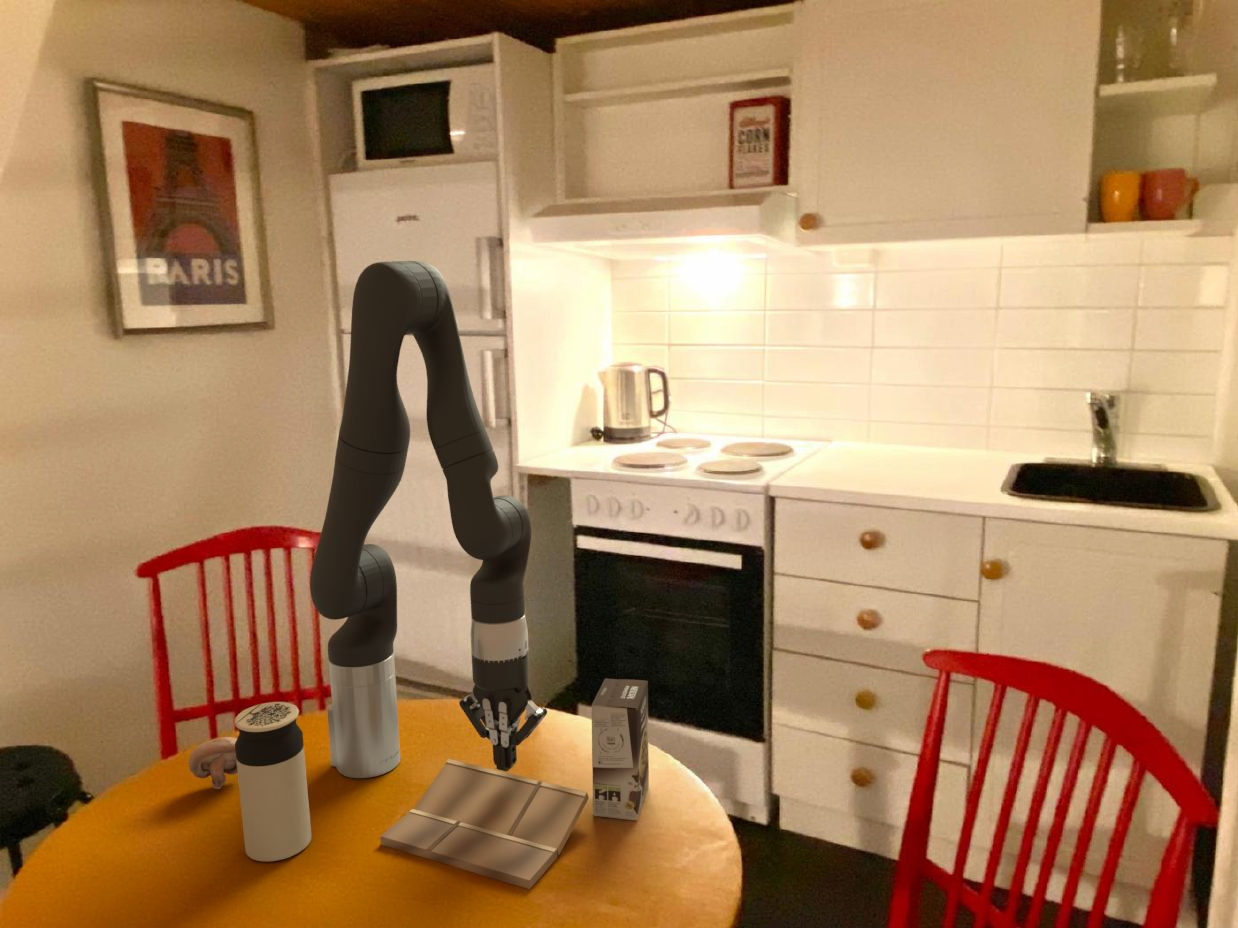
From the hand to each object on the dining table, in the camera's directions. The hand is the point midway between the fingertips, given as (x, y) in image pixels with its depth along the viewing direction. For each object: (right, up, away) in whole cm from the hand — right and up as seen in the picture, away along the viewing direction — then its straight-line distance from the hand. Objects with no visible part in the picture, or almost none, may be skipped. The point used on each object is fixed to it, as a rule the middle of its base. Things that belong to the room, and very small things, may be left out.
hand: (505, 767), depth 125 cm
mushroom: (-42, -5, +7) cm, 42 cm away
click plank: (0, -5, -2) cm, 5 cm away
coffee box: (+16, -5, +2) cm, 17 cm away
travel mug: (-28, -8, -7) cm, 30 cm away
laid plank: (-4, -8, -9) cm, 12 cm away
